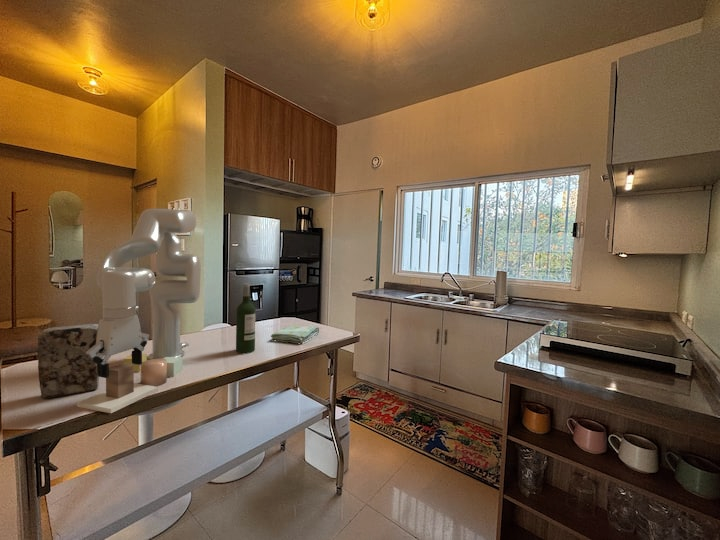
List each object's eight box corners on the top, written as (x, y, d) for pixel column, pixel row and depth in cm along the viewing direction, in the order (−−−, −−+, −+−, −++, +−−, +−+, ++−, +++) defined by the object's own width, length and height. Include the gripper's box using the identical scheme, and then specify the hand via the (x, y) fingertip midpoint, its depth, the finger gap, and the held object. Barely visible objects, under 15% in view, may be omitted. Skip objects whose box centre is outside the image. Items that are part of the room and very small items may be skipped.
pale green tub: (165, 370, 109) (165, 356, 109) (182, 370, 110) (182, 357, 109) (155, 377, 103) (155, 362, 103) (173, 377, 104) (173, 362, 103)
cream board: (127, 385, 96) (127, 381, 96) (157, 390, 93) (157, 386, 93) (77, 406, 82) (77, 402, 82) (111, 413, 79) (110, 408, 79)
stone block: (100, 382, 97) (99, 321, 96) (100, 390, 92) (99, 326, 91) (40, 394, 88) (39, 327, 88) (37, 403, 83) (36, 332, 82)
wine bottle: (250, 354, 129) (251, 285, 128) (232, 353, 130) (233, 284, 128) (257, 348, 137) (258, 283, 136) (240, 347, 137) (241, 282, 136)
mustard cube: (131, 367, 111) (131, 354, 111) (146, 367, 112) (146, 353, 112) (123, 372, 106) (123, 358, 106) (139, 372, 107) (139, 358, 107)
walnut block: (121, 389, 90) (121, 363, 90) (133, 391, 89) (133, 365, 89) (106, 396, 86) (105, 369, 86) (118, 398, 85) (118, 370, 85)
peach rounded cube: (154, 377, 102) (154, 357, 102) (171, 380, 101) (171, 359, 101) (135, 386, 96) (135, 364, 95) (152, 389, 94) (152, 367, 94)
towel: (269, 342, 149) (269, 332, 149) (289, 332, 169) (289, 323, 169) (302, 346, 144) (303, 335, 144) (319, 335, 165) (319, 325, 165)
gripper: (138, 306, 96) (138, 358, 97) (75, 318, 79) (77, 380, 80) (157, 308, 94) (157, 361, 95) (97, 320, 77) (99, 384, 79)
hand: (121, 370), depth 88 cm, fingers open, 9 cm apart
